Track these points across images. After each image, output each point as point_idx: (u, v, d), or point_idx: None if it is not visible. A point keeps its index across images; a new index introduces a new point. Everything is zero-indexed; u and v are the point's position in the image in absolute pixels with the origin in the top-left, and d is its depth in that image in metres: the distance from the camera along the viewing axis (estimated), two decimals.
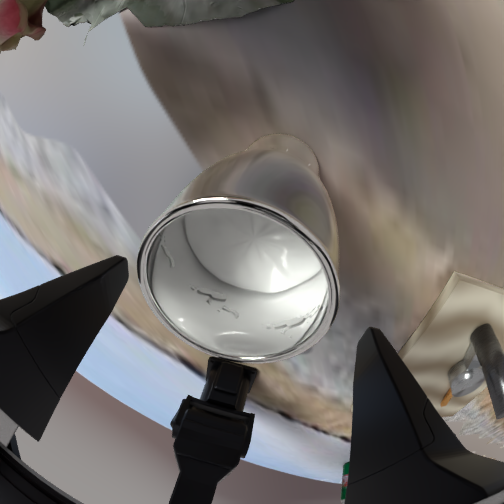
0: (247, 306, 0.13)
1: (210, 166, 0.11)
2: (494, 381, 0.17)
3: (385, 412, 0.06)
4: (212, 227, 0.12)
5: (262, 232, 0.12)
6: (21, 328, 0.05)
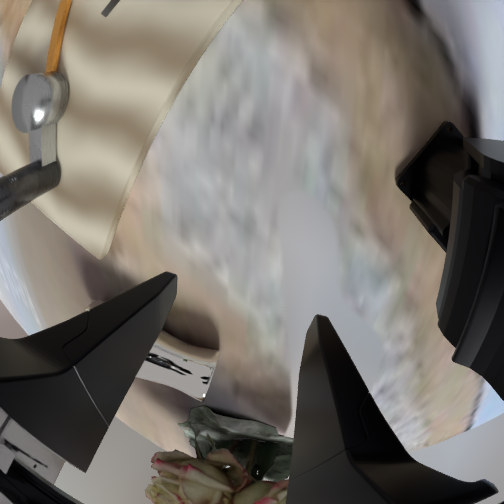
0: None
1: None
2: (0, 217, 0.14)
3: (320, 404, 0.06)
4: None
5: None
6: (77, 363, 0.05)
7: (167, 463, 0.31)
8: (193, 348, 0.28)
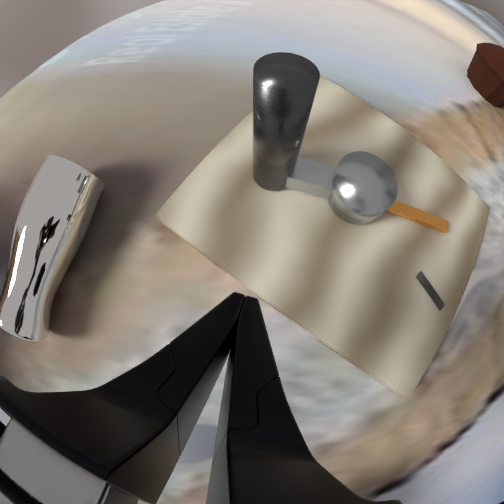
0: None
1: None
2: (261, 129, 0.15)
3: (228, 384, 0.06)
4: None
5: None
6: (174, 408, 0.05)
7: None
8: (49, 310, 0.19)
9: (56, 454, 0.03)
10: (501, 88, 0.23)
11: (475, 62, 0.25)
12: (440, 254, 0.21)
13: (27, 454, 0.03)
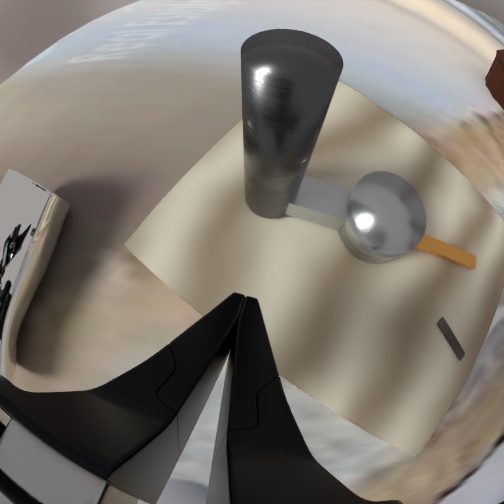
0: None
1: None
2: (253, 140, 0.10)
3: (228, 384, 0.06)
4: None
5: None
6: (174, 408, 0.05)
7: None
8: (14, 346, 0.15)
9: (56, 454, 0.03)
10: None
11: (495, 70, 0.21)
12: (464, 295, 0.16)
13: (27, 454, 0.03)
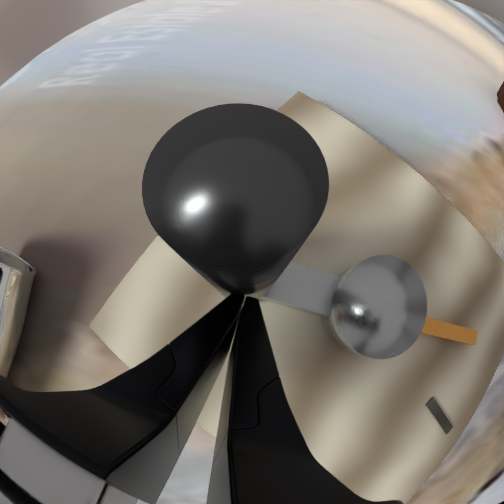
0: None
1: None
2: None
3: (228, 384, 0.06)
4: None
5: None
6: (174, 407, 0.05)
7: None
8: None
9: (55, 453, 0.03)
10: None
11: None
12: (460, 369, 0.14)
13: (26, 454, 0.03)
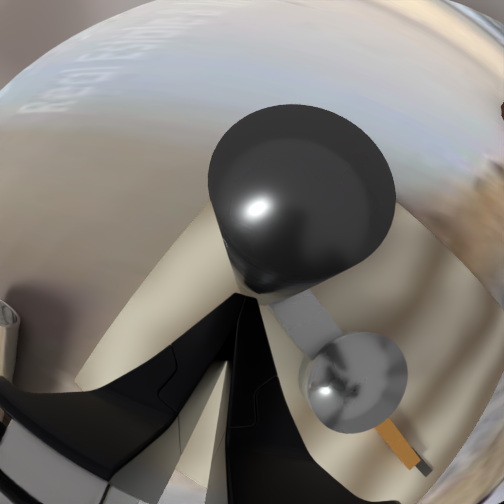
0: None
1: None
2: None
3: (227, 383, 0.06)
4: None
5: None
6: (176, 409, 0.05)
7: None
8: None
9: (57, 455, 0.03)
10: None
11: None
12: (443, 419, 0.13)
13: (28, 455, 0.03)
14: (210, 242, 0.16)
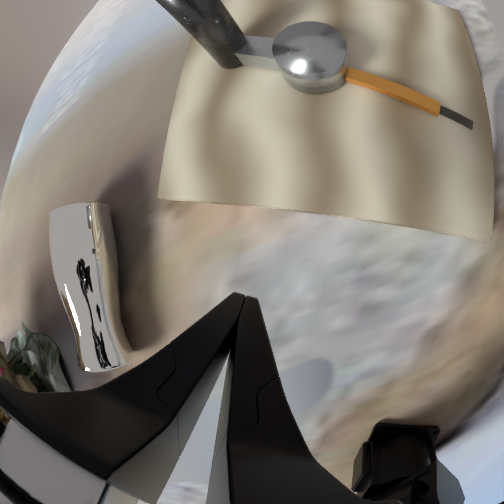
0: None
1: None
2: None
3: (228, 384, 0.06)
4: None
5: None
6: (174, 408, 0.05)
7: None
8: (122, 333, 0.24)
9: (56, 454, 0.03)
10: None
11: None
12: (436, 74, 0.14)
13: (27, 454, 0.03)
14: (198, 64, 0.20)
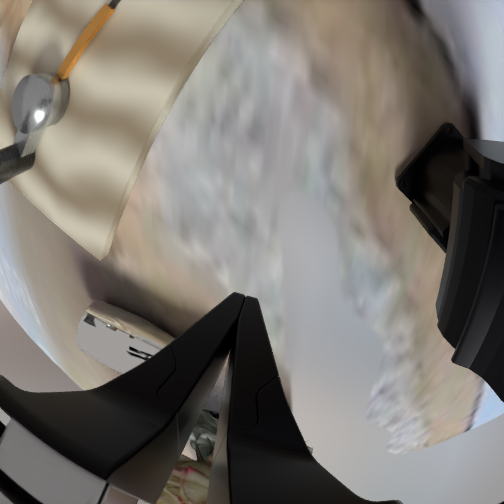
0: None
1: None
2: None
3: (228, 384, 0.06)
4: None
5: None
6: (174, 408, 0.05)
7: None
8: None
9: (56, 454, 0.03)
10: None
11: None
12: None
13: (27, 454, 0.03)
14: (25, 184, 0.22)
